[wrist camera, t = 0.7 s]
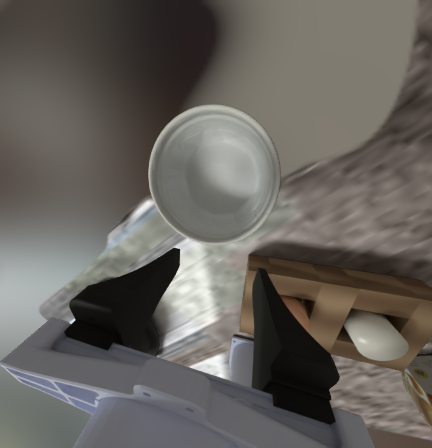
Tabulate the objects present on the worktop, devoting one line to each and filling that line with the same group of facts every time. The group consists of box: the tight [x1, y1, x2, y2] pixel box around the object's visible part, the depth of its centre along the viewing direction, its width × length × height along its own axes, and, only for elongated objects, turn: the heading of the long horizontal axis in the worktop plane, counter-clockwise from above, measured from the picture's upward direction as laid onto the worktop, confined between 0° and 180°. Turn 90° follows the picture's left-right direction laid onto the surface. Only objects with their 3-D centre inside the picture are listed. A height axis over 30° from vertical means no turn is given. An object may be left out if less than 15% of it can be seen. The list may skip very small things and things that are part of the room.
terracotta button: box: [279, 294, 311, 333], centre depth 21 cm, size 5×5×4 cm
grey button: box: [343, 308, 409, 361], centre depth 19 cm, size 5×5×4 cm
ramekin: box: [148, 104, 281, 245], centre depth 18 cm, size 13×13×7 cm
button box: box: [239, 255, 432, 371], centre depth 22 cm, size 12×22×4 cm, turn 87°
